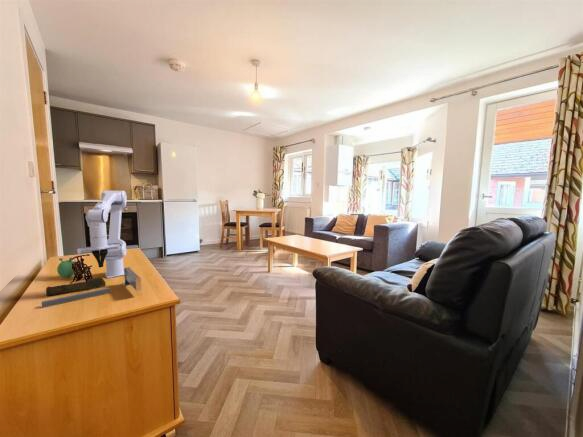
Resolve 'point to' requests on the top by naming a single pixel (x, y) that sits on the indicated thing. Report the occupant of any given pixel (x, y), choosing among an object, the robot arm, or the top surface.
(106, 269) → the robot arm
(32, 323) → the top surface
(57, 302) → the bar
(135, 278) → the swing gate
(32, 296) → the top surface
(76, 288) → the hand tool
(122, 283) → the gate base
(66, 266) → the alien toy
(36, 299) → the top surface
